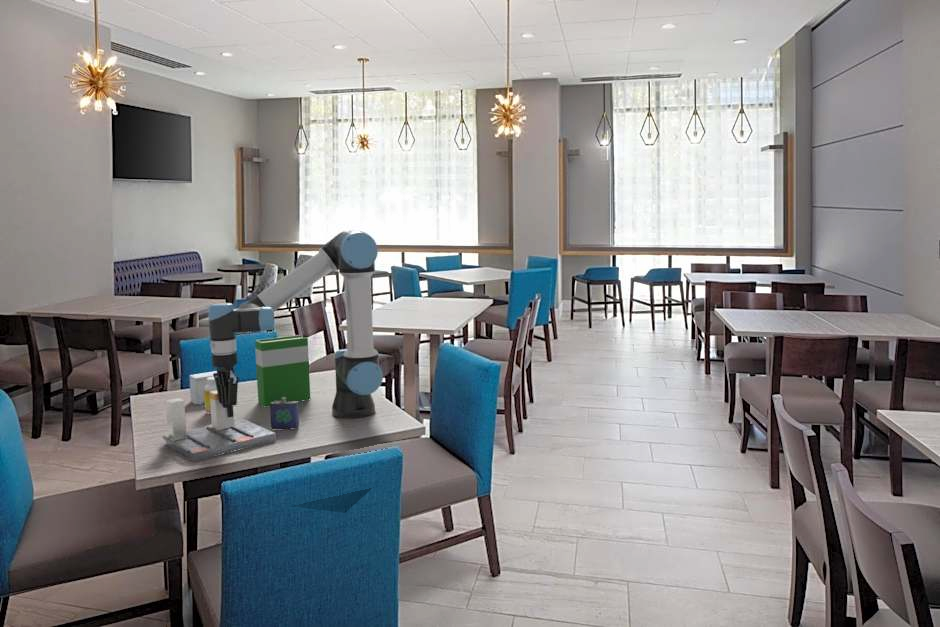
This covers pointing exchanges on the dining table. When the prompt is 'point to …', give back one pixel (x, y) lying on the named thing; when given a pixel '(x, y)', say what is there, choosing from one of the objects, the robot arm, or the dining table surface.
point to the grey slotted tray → (210, 435)
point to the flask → (284, 414)
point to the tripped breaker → (216, 411)
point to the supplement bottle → (208, 388)
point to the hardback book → (282, 369)
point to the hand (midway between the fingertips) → (229, 426)
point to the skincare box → (199, 386)
